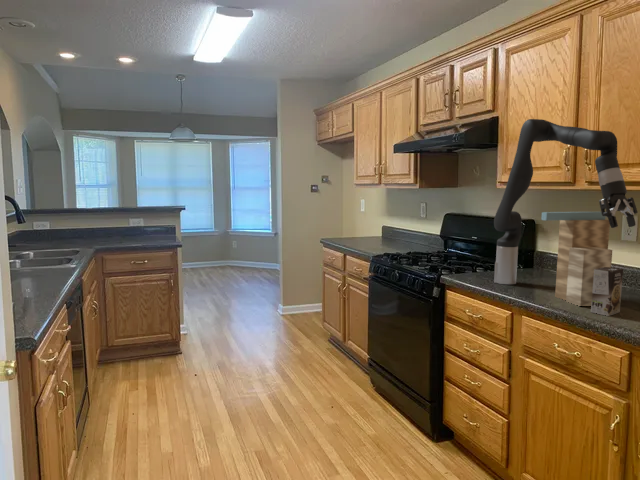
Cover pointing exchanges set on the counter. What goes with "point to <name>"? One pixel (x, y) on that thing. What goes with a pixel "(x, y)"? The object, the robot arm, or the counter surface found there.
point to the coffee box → (607, 291)
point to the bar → (572, 216)
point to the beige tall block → (584, 272)
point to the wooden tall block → (577, 245)
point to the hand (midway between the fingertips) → (623, 226)
